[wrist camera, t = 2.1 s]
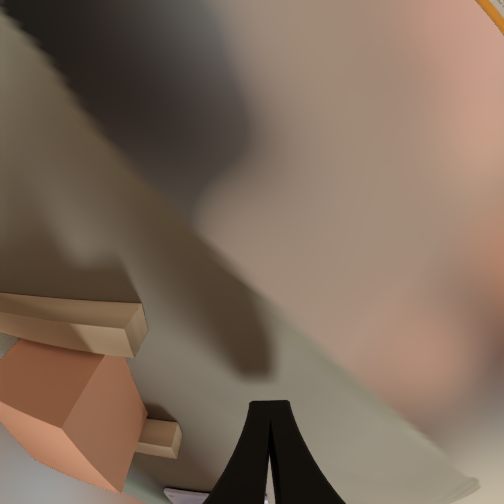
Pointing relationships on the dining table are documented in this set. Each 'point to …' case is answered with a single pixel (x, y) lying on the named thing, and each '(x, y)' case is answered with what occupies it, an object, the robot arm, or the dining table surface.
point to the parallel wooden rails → (89, 343)
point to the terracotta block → (72, 410)
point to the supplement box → (494, 11)
